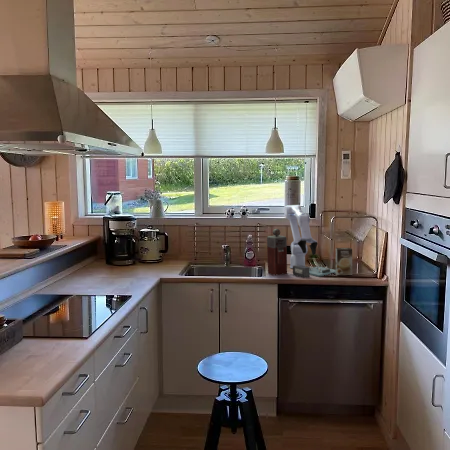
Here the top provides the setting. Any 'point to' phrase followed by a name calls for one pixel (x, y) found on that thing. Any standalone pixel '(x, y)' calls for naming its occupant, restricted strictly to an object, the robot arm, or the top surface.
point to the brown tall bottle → (277, 253)
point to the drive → (301, 271)
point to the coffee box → (343, 261)
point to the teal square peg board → (320, 271)
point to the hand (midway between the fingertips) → (309, 253)
